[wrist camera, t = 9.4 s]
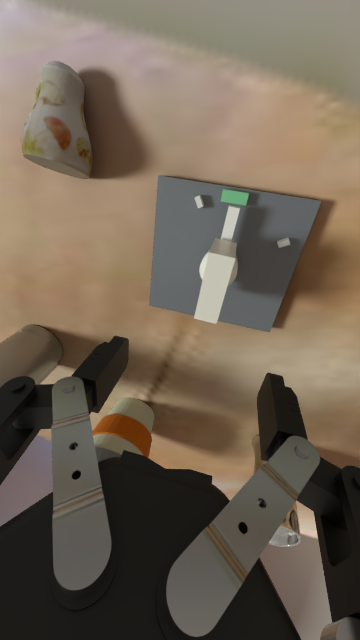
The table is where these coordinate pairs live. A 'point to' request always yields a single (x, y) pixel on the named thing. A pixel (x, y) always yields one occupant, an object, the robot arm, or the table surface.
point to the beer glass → (290, 525)
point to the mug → (58, 124)
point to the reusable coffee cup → (124, 430)
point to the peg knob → (218, 271)
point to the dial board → (250, 235)
